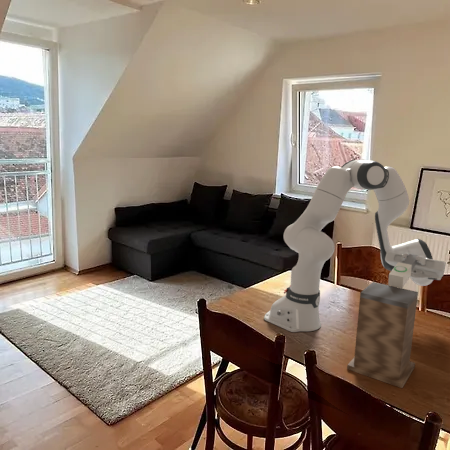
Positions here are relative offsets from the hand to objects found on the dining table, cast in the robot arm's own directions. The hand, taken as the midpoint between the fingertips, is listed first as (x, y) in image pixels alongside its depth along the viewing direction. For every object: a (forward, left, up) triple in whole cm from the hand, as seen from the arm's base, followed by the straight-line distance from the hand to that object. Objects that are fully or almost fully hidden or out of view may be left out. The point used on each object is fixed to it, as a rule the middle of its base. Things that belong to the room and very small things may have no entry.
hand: (411, 257), depth 151 cm
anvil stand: (0, -24, -32) cm, 40 cm away
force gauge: (0, -8, -4) cm, 9 cm away
